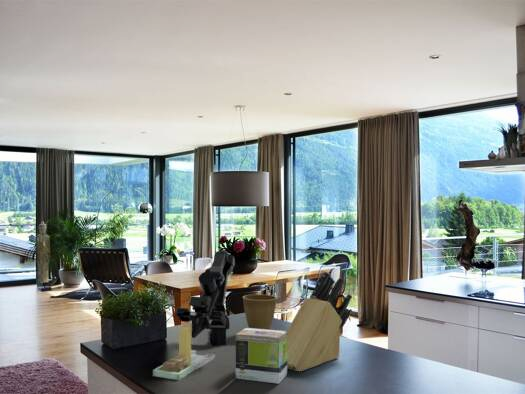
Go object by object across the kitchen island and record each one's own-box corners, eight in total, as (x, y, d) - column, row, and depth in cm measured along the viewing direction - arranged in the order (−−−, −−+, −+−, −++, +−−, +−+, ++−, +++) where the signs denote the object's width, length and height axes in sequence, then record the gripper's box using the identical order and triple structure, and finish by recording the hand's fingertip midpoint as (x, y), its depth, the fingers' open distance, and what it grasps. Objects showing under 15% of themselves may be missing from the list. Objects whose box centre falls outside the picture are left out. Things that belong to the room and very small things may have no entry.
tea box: (287, 374, 167) (288, 330, 167) (278, 385, 157) (279, 337, 157) (245, 369, 172) (246, 326, 172) (234, 379, 162) (234, 333, 162)
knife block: (354, 353, 192) (355, 272, 192) (295, 375, 166) (296, 282, 166) (330, 347, 199) (331, 269, 200) (270, 367, 174) (271, 278, 174)
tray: (168, 370, 170) (168, 361, 170) (193, 374, 166) (193, 365, 166) (152, 379, 161) (152, 370, 161) (178, 383, 157) (178, 374, 157)
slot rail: (190, 357, 184) (190, 349, 184) (215, 360, 180) (215, 353, 180) (168, 370, 170) (168, 362, 170) (194, 374, 166) (194, 366, 166)
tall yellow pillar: (180, 363, 172) (181, 325, 173) (193, 365, 171) (193, 326, 171) (175, 366, 169) (175, 328, 169) (187, 368, 167) (188, 329, 167)
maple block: (176, 367, 169) (176, 355, 169) (186, 369, 167) (186, 357, 167) (169, 371, 165) (169, 359, 165) (180, 373, 164) (180, 360, 164)
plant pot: (276, 338, 211) (277, 300, 211) (241, 338, 211) (241, 300, 211) (276, 329, 226) (276, 294, 226) (243, 329, 226) (243, 293, 226)
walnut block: (169, 371, 165) (169, 359, 165) (180, 373, 164) (180, 360, 164) (163, 375, 161) (163, 362, 161) (173, 376, 160) (174, 364, 160)
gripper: (178, 285, 184) (161, 322, 174) (223, 289, 177) (209, 327, 167) (188, 302, 191) (173, 338, 181) (233, 306, 184) (219, 345, 174)
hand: (192, 337), depth 175 cm, fingers closed
